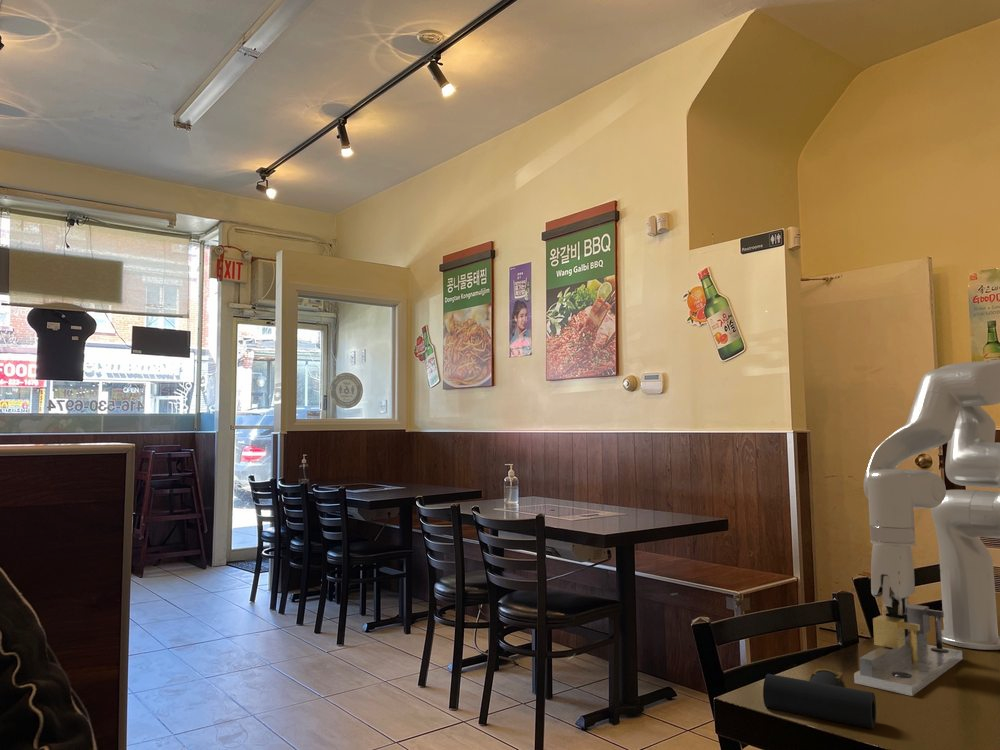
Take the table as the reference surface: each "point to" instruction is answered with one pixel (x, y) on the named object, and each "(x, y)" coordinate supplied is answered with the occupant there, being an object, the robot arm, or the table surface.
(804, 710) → the pipe connector
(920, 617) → the fixed leg
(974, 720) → the table surface
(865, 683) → the bolt plate
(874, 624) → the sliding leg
